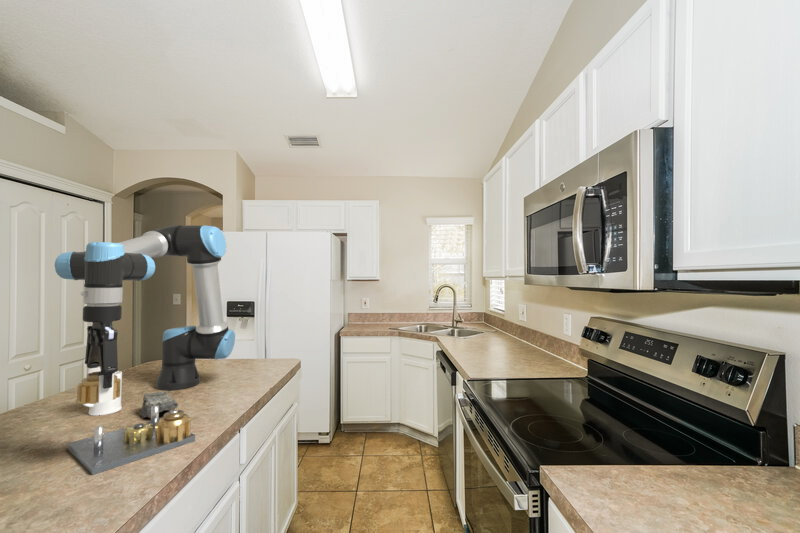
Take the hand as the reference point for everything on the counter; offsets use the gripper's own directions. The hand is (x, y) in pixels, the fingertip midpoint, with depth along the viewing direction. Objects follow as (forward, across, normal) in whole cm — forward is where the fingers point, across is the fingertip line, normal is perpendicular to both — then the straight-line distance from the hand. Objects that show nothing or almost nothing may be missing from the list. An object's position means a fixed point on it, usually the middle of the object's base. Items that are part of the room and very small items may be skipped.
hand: (99, 397), depth 92 cm
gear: (0, 0, 0) cm, 0 cm away
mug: (+14, -35, +10) cm, 39 cm away
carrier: (+14, 0, +8) cm, 16 cm away
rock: (+15, -20, +20) cm, 32 cm away
